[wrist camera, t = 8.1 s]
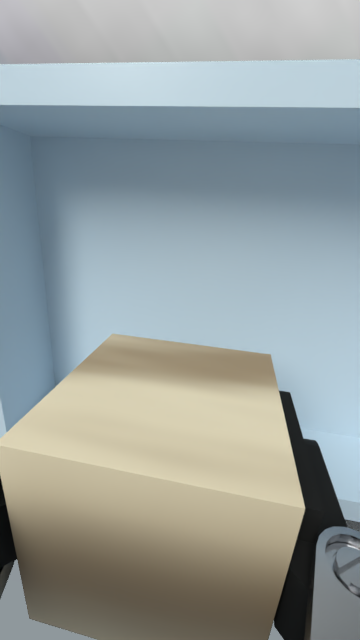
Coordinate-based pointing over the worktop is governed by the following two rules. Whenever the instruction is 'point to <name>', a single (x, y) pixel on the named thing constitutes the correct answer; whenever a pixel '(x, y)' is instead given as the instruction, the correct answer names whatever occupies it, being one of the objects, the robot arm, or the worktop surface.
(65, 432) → the wooden cube
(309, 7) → the worktop surface
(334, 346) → the tray
